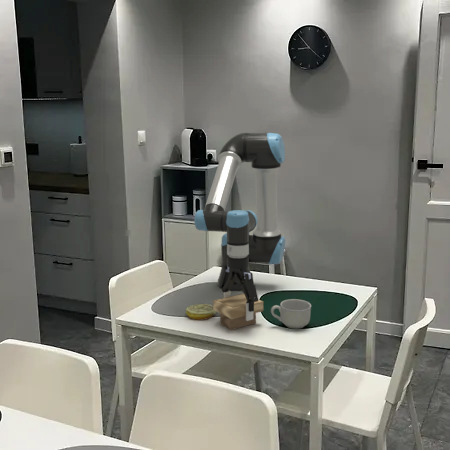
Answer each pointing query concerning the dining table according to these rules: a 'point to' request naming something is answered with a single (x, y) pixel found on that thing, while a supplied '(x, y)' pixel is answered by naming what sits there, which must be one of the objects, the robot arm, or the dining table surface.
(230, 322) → the brown rectangular block
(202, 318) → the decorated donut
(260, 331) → the dining table surface
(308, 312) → the teacup
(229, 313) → the cover board
